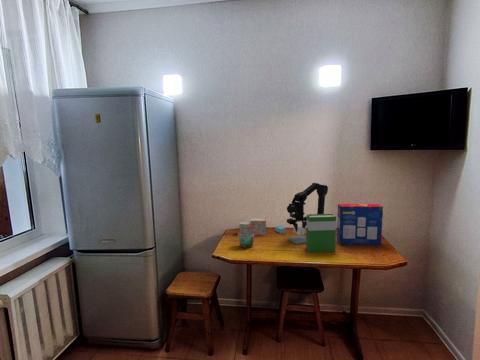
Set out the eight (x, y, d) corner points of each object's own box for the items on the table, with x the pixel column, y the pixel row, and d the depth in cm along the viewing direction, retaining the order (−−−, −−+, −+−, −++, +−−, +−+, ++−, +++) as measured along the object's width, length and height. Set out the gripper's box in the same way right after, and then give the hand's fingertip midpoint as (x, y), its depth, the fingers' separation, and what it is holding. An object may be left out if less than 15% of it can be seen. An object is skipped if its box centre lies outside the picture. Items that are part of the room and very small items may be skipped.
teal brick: (279, 230, 227) (279, 225, 227) (285, 232, 220) (285, 228, 220) (274, 231, 225) (274, 226, 225) (280, 233, 218) (280, 229, 217)
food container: (235, 248, 191) (234, 234, 189) (238, 244, 196) (238, 231, 195) (251, 250, 186) (251, 236, 185) (254, 246, 192) (254, 233, 191)
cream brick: (299, 230, 205) (299, 225, 204) (305, 234, 198) (305, 228, 197) (293, 231, 203) (293, 226, 203) (299, 235, 196) (299, 229, 195)
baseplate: (302, 237, 209) (302, 235, 208) (310, 242, 197) (310, 240, 197) (288, 239, 205) (288, 237, 205) (296, 244, 194) (296, 242, 194)
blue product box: (376, 241, 197) (378, 204, 193) (380, 245, 189) (382, 206, 185) (336, 240, 200) (337, 203, 196) (339, 244, 192) (340, 206, 188)
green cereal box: (331, 247, 188) (332, 213, 185) (335, 251, 181) (336, 216, 177) (306, 247, 188) (306, 214, 185) (308, 252, 181) (309, 217, 178)
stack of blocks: (239, 235, 217) (239, 220, 215) (240, 232, 223) (239, 218, 221) (266, 235, 215) (266, 220, 214) (266, 232, 222) (265, 218, 220)
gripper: (304, 207, 208) (304, 226, 211) (283, 209, 203) (283, 229, 205) (313, 210, 198) (312, 231, 200) (290, 213, 192) (290, 234, 195)
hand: (299, 231), depth 200 cm, fingers closed on cream brick, 5 cm apart
